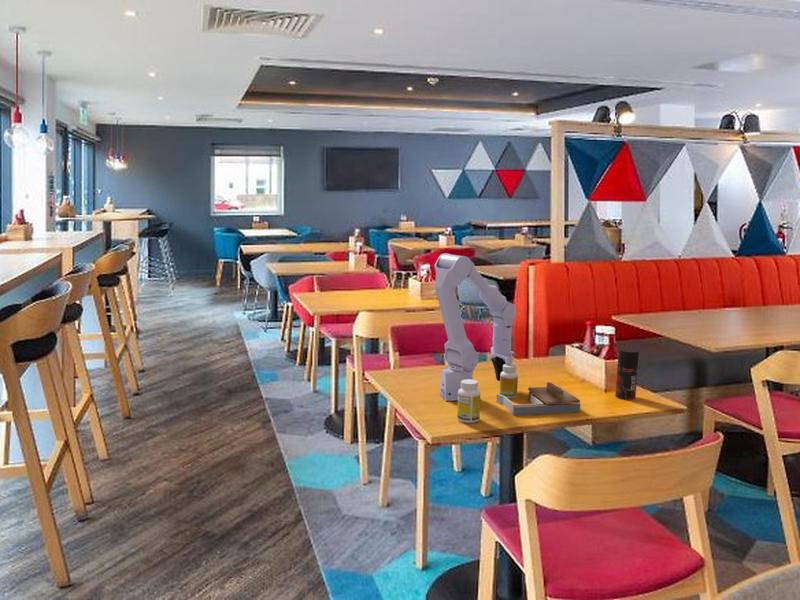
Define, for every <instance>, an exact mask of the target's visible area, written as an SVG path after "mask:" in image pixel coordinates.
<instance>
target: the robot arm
mask: <svg viewBox="0 0 800 600" xmlns="http://www.w3.org/2000/svg"><path fill="white" fill-rule="evenodd" d="M433 266H434V270H435V282H434V289H435V293H436V297H437V298H436V299H437V302H438V305H439V308H440V313H441V317H442V320H443V325H444V328H445V333H446V337H447V341H446V342H445V343H444V360H445V362H446V363H447V366H448V368H445V369H441V372H440V391H439V394H440V395H441V397H442V398H443V399H444V400H445V401H446V402H451V401H458V391H459V389H460V388H462V387H461V381H462V380H465V379H472V380H474V379H473V378H474V376H473V375H474V371H475V369H476V367H477V365H478V364H479V360H480V359H479V358H480V357H479V353H478V352H477V351H476V349H475V348H474V345H473V343H472V342H471V341H470V340H469V338H468V337H467V333H466V331H465V326H464V322H463V318H462V317H463V316H462V313H461V310H460V304H459V302H458V298H457V294H456V289H457V287H459V286H460V285H461V283H463V281H465V280H467V281H468V283H470V284H471V285H472V286H473V287H474V289H476V290H477V291H478V292H479V295H478V296H479V297H478V298H479V299H480V300H481V301H482V302H483V304H485V306H486V307H487V308H488V309H489V315H490V316H492V317H493V326H492V328H493V329H492V346H491V347H490V353H491V355H492V356H493V357H490V361H491V362H492V363H491V364H492V365H493V368H494V373H495V379H496V381H498V382H500V374H501V372H503V371H504V370H503V365H504V364H512V365H513V361H514V358H513V356H512V355H515V351H514V350H513V351H512V350H511V349H512V333H513V332H512V328H513V324H514V319H515V317H516V316H517V312H518V311H517V310H516V307H515V305H514V304H513V302H509V301H508V300H507V297H506V296H504V295H503V294H502V293H501V292H500V291H499V287H498V286H497V285H493V284H488V283H487V281H486V280H485V279H484V277H483V276H482V275H481V273H480V272H479V271H478V270H477V268H476V267H475V263H474V262H473V261H472V260H471V258H469V257H468V256H467V255H466V256H465V255H457V254H450V253H448V252H447V253H445V252H444V253H441V254H440V255H439V256H438V258H437V260H436V261H435V264H434V265H433Z"/></svg>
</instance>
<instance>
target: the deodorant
mask: <svg viewBox="0 0 800 600" xmlns="http://www.w3.org/2000/svg"><path fill="white" fill-rule="evenodd" d="M639 354H640V351H639V349H637V348H632V347H619V348H618V354H617V356H618V357H617V365H616V366H617V370H616V382H615V383H616V384H615V395H614V397H616V399H619V400H624V401H633V400H635V399H636V393H637V382H638V381H637V380H638V370H639V369H638V367H639V358H640V357H639Z"/></svg>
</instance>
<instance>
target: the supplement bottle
mask: <svg viewBox="0 0 800 600" xmlns="http://www.w3.org/2000/svg"><path fill="white" fill-rule="evenodd" d="M503 370H504V371H503V372H501V374H500V381H499V394H500V395H503V396H505V397H507V398H508V399H515V398H517V397H518V383H519V374H518V373H517V372H516V371H517V365H515V364H513V363H512V364H504V365H503Z"/></svg>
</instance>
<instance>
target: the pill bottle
mask: <svg viewBox="0 0 800 600" xmlns="http://www.w3.org/2000/svg"><path fill="white" fill-rule="evenodd" d="M461 387H462V388H460V389H459V391H458V400H457V420H458V421H459V422H460V423H464V422H465V424H474V423H477V422H479V421H480V419H481V390H479V388H478V387H479V381H478V380H476V379H473V380H472V379H465V380H462V381H461Z"/></svg>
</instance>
